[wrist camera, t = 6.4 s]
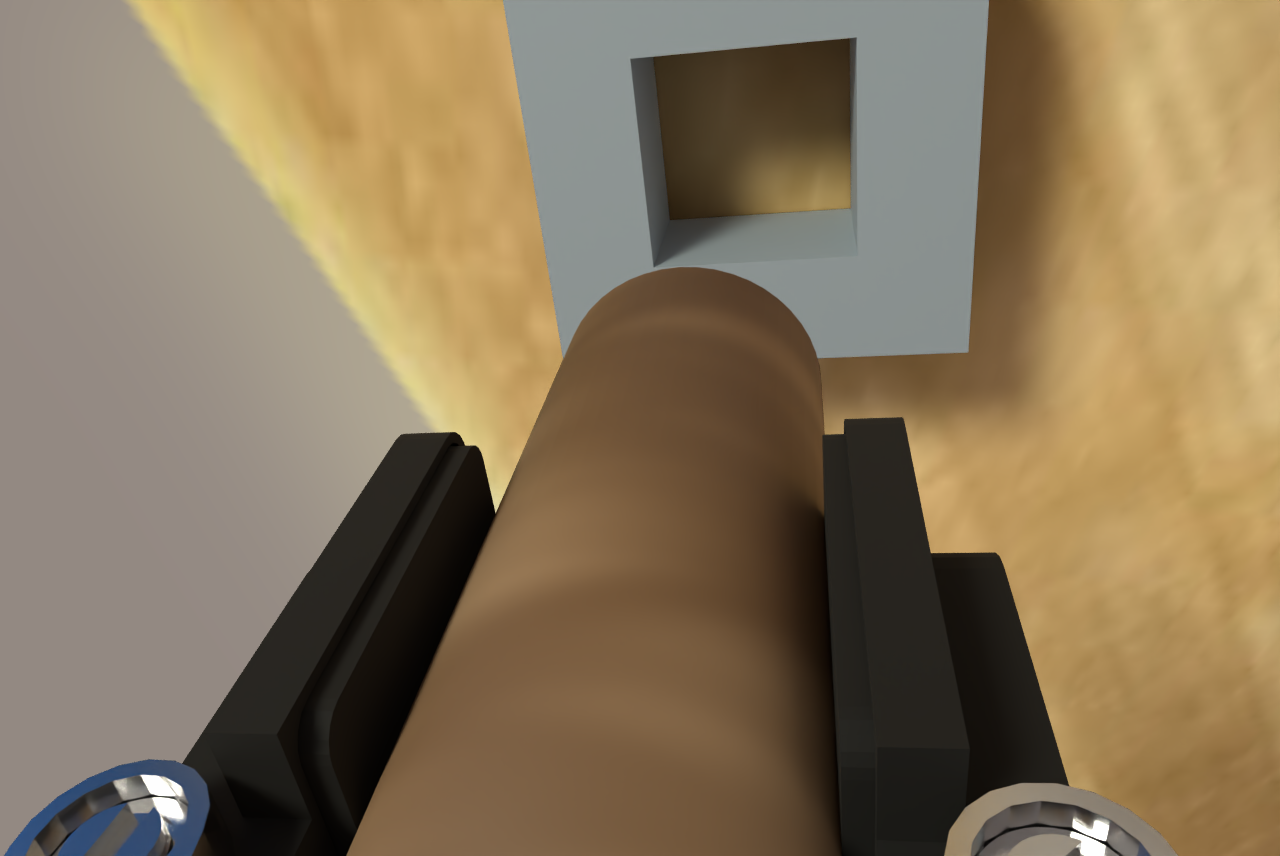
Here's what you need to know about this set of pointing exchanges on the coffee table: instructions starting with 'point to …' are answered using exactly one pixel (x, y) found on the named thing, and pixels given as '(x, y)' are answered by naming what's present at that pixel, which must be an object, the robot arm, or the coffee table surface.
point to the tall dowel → (641, 607)
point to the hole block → (779, 242)
